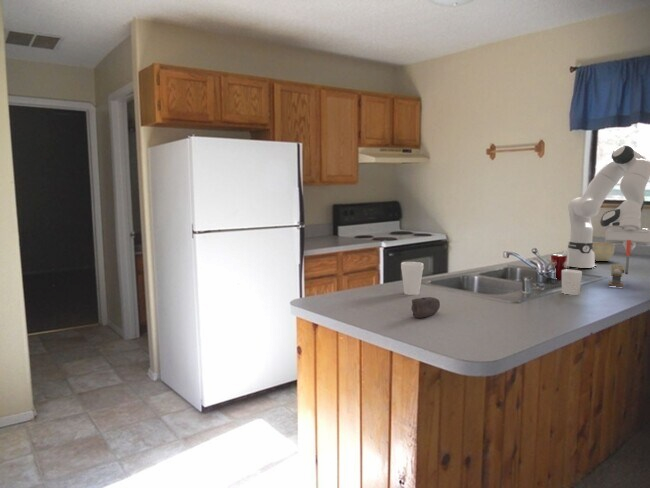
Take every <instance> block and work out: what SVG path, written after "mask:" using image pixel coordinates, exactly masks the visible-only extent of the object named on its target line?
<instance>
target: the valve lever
mask: <svg viewBox="0 0 650 488" xmlns="http://www.w3.org/2000/svg"><path fill="white" fill-rule="evenodd" d="M631 247H632V245H631V240H627V246H626V251H625V256H626V259H625V269H624V275H629V264H630V256H631V252H630V250H631Z"/></svg>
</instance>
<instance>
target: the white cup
mask: <svg viewBox="0 0 650 488" xmlns="http://www.w3.org/2000/svg"><path fill="white" fill-rule="evenodd" d="M582 276H583V271H582V270H578V269H569V268H568V269H567V268H566V269H565V270H562V280H561V294H562V293H564V294H563V295H565V294H573V295H574V294H579V295H580V291H581V290H580V289H581V284H582V278H583V277H582Z"/></svg>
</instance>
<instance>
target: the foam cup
mask: <svg viewBox="0 0 650 488" xmlns="http://www.w3.org/2000/svg"><path fill="white" fill-rule="evenodd" d="M424 266H425V265H424V263H423V262H419V261H403V262H401V263H400V269H401V276H402V285H403V293H404V295H407V296H408V295H409V296H418V295H420V292H421V291H420V290H421V289H420V288H421V285H422V277H423V270H424Z"/></svg>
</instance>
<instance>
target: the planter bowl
mask: <svg viewBox="0 0 650 488" xmlns="http://www.w3.org/2000/svg"><path fill="white" fill-rule="evenodd" d="M592 243H593V249H592V251H593V252H594V257H595V260H596V261H608V262H609V260H610V258H611V257H612V256H613V255H614V253H615V248H616V245H617V244H606V243H605V241H604V242H602V241H601V242H600V241H599V242H598V241H592ZM596 261H595V262H596Z"/></svg>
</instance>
